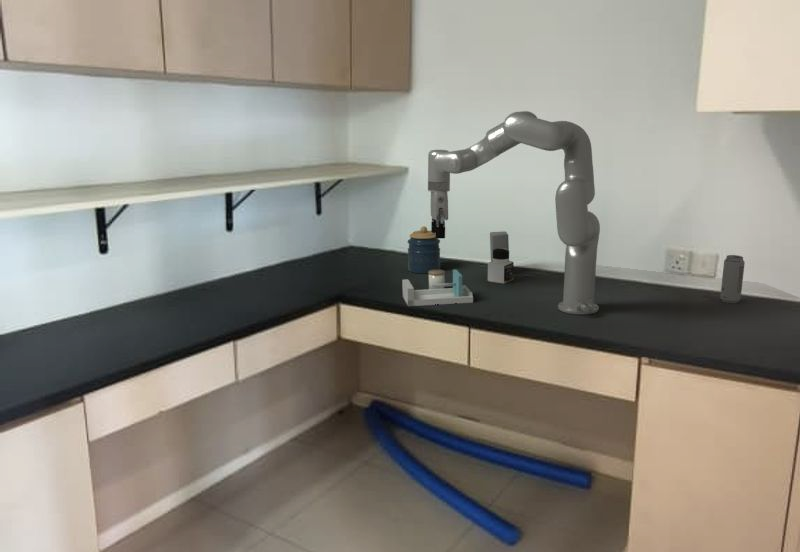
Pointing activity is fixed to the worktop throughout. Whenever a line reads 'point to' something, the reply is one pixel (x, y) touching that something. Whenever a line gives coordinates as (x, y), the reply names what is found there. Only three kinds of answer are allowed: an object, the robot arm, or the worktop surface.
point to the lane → (433, 295)
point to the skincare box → (498, 241)
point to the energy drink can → (732, 279)
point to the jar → (436, 278)
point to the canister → (423, 251)
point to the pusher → (454, 284)
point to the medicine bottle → (500, 267)
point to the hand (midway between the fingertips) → (438, 235)
